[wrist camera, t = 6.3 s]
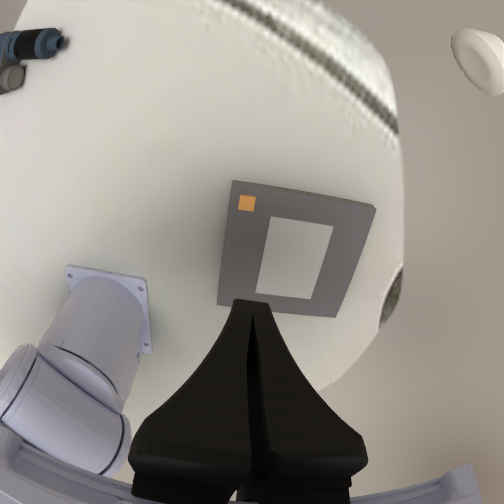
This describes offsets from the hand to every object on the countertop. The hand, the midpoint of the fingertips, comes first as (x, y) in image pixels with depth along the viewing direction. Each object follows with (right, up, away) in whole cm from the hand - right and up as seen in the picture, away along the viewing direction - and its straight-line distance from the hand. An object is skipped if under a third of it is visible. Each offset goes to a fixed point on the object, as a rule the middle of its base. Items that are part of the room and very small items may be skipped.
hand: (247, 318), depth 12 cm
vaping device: (-25, +18, 0) cm, 31 cm away
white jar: (+16, +17, +2) cm, 23 cm away
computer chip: (+3, +2, +11) cm, 11 cm away
